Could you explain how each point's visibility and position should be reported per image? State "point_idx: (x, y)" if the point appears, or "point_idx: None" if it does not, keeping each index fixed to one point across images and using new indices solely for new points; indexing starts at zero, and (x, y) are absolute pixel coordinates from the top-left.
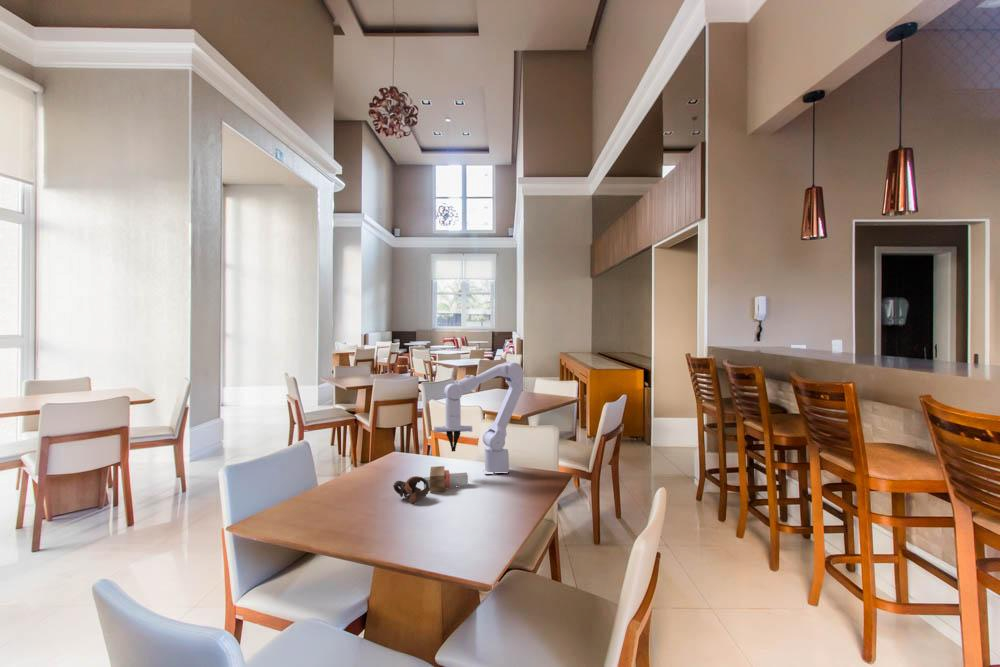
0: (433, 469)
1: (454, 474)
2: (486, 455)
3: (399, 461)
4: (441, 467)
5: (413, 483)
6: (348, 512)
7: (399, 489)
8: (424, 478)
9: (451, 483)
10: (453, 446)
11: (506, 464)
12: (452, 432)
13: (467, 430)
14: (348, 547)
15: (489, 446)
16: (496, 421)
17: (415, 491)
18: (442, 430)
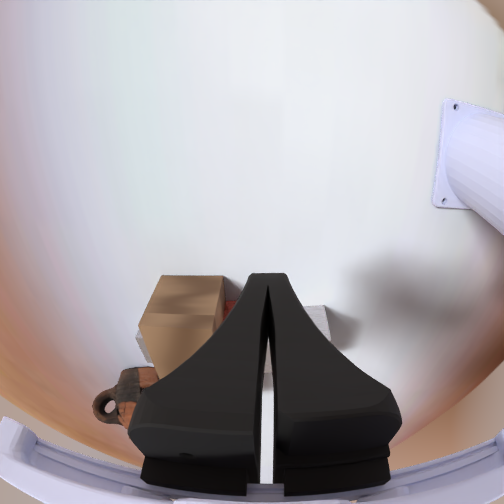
0: (165, 363)
1: (269, 357)
2: (500, 218)
3: None
4: (199, 346)
5: (133, 401)
6: (66, 403)
7: (109, 399)
8: (142, 347)
9: None
10: (269, 308)
11: None
12: (252, 474)
13: (466, 465)
14: (138, 464)
15: None
16: None
17: (143, 375)
18: (101, 486)
